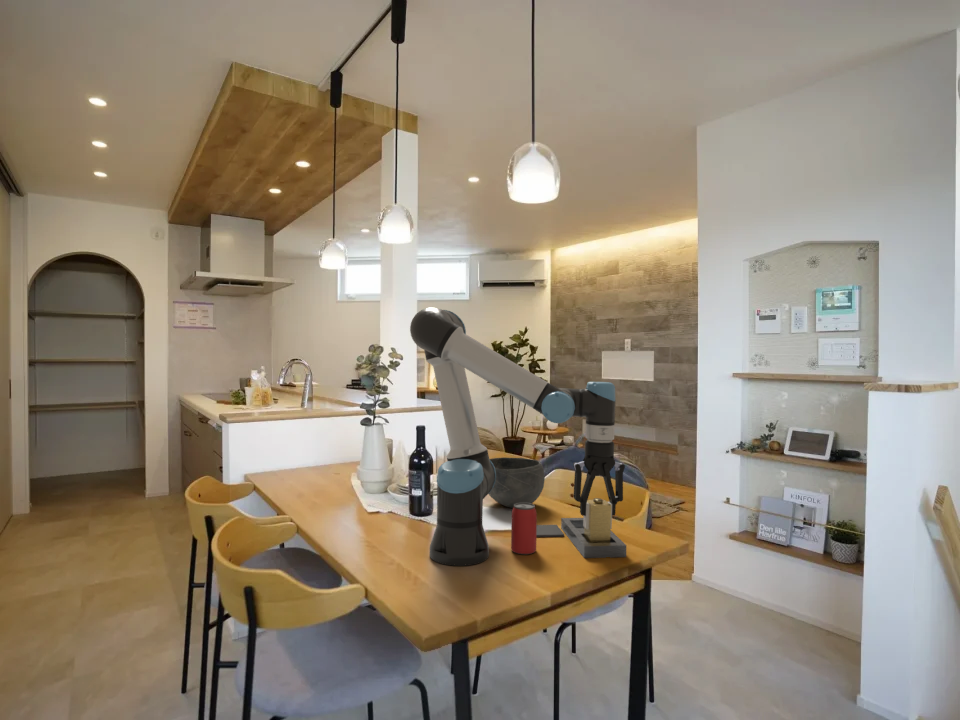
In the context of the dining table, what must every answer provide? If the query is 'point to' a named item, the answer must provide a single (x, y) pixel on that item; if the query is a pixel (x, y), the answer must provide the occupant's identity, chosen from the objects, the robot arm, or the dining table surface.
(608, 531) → the tall wooden peg block
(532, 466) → the bowl
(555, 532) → the mat
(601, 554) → the tray
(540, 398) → the robot arm
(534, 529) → the beer can
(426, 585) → the dining table surface
